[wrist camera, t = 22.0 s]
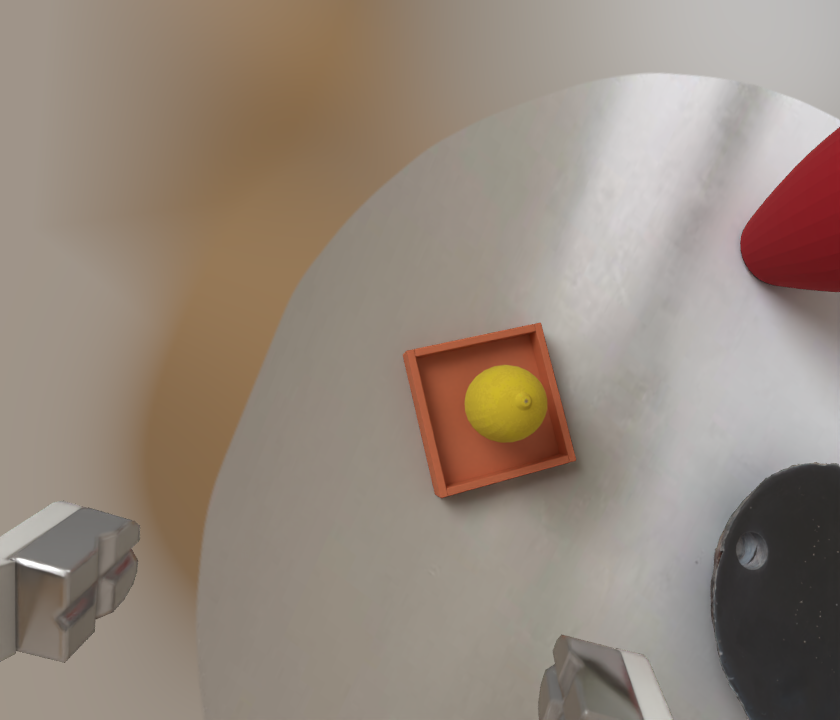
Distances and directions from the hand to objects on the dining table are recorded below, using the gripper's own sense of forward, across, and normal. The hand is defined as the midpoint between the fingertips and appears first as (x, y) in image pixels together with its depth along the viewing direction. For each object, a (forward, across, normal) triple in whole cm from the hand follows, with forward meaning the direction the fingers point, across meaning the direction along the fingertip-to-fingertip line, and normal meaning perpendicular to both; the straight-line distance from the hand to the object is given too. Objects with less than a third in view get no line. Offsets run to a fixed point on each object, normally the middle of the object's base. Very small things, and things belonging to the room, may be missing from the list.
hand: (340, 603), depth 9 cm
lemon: (+30, -5, +6) cm, 31 cm away
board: (+32, -34, +16) cm, 49 cm away
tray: (+30, -5, +6) cm, 31 cm away
